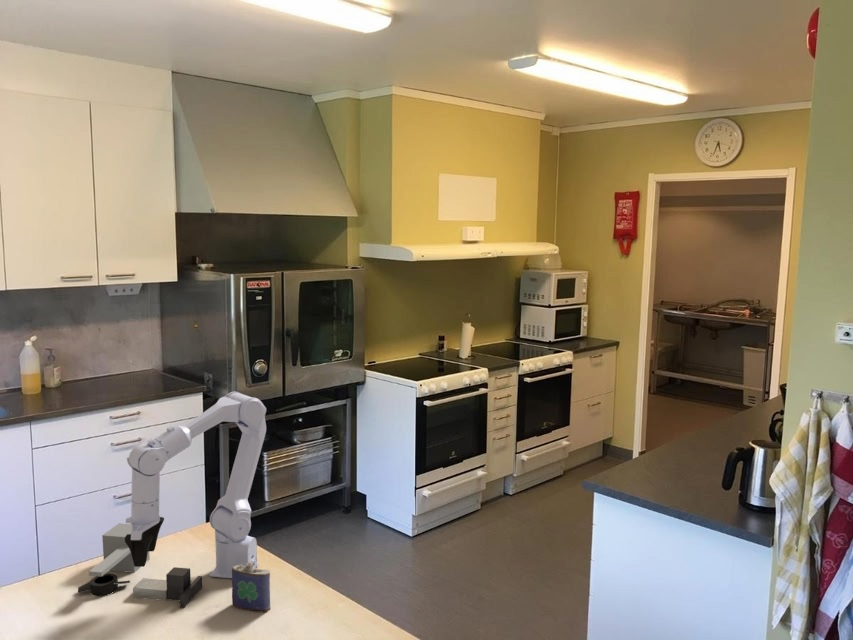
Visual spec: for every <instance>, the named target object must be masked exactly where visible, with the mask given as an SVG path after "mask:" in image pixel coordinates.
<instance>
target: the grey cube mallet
mask: <svg viewBox="0 0 853 640" xmlns="http://www.w3.org/2000/svg"><path fill="white" fill-rule="evenodd" d="M131 531H132V529H131V524H130V523H117V524H116V525H115V526H112V527H111V528H110V529H109V530H107V531H106V532H105V533H103V534H102V537H101V538H102V552H103V553H102V555H103V560H101V561H100V562H99V563H97V565H95V566H93V568H91V569H90V570H89V571H88V576H91V577H96V576H101V577H102V576H103V575H104V574H106V573H109V571H111V572H113V571H114V572H122V571H127V573H136V572H137V571H138V570H140V568H141V567H135V566H134V563H133V559H132V555H131V552H130V549H129V547H128V546H127V544H126V543H125V536H126V535H127V534H131ZM150 558H151V557H150V551H148V554H147V560H148V559H149V560H150ZM147 560H146V561H147ZM149 560H148V561H149ZM148 561H147V562H148ZM135 571H136V572H135Z"/></svg>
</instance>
